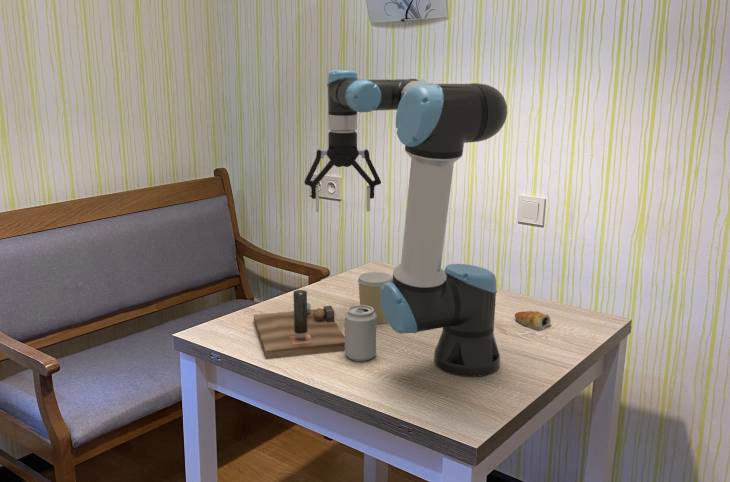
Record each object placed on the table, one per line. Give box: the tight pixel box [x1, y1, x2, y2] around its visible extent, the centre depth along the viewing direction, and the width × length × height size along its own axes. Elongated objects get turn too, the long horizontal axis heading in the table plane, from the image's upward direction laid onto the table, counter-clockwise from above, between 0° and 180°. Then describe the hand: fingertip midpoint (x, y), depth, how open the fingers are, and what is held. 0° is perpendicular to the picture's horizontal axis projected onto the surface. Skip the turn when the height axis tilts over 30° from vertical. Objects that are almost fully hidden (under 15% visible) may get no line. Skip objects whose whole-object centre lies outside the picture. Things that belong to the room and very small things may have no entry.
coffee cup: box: [357, 271, 393, 325], centre depth 191 cm, size 9×9×12 cm
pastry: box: [514, 310, 552, 331], centre depth 190 cm, size 9×7×4 cm
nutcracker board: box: [253, 305, 345, 360], centre depth 181 cm, size 24×20×5 cm
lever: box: [293, 289, 312, 339], centre depth 181 cm, size 22×4×12 cm, turn 3°
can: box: [344, 304, 377, 362], centre depth 168 cm, size 8×8×12 cm
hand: (342, 210), depth 191 cm, fingers open, 13 cm apart
